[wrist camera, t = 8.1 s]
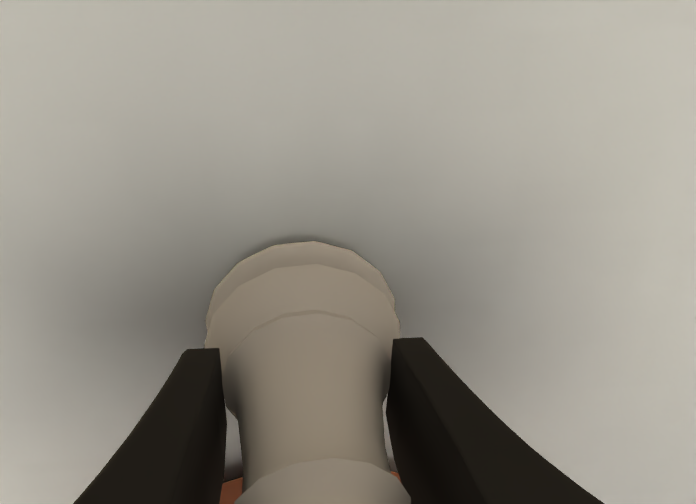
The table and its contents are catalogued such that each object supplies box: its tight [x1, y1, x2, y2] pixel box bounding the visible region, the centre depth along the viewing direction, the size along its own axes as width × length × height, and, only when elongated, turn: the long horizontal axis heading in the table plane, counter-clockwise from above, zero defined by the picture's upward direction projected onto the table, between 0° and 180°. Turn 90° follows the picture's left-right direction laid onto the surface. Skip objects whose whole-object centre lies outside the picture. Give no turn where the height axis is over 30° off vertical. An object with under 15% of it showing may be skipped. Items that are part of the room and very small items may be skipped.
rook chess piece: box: [204, 241, 411, 504], centre depth 9 cm, size 4×4×8 cm
